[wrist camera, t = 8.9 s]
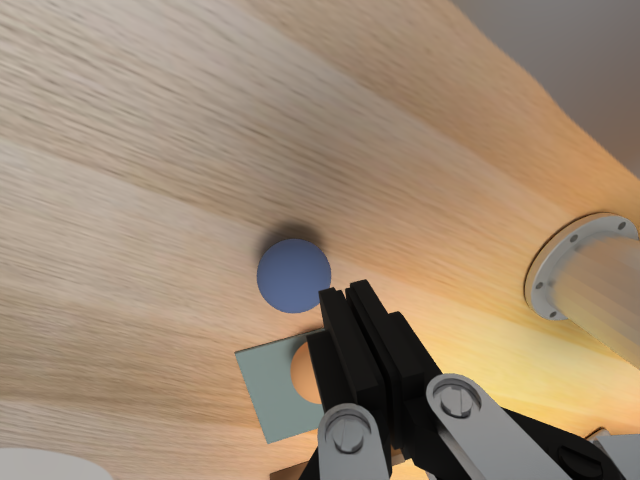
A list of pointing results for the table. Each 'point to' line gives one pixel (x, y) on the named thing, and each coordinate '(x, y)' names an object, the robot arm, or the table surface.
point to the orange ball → (304, 375)
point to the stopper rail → (290, 476)
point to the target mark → (278, 389)
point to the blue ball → (293, 275)
